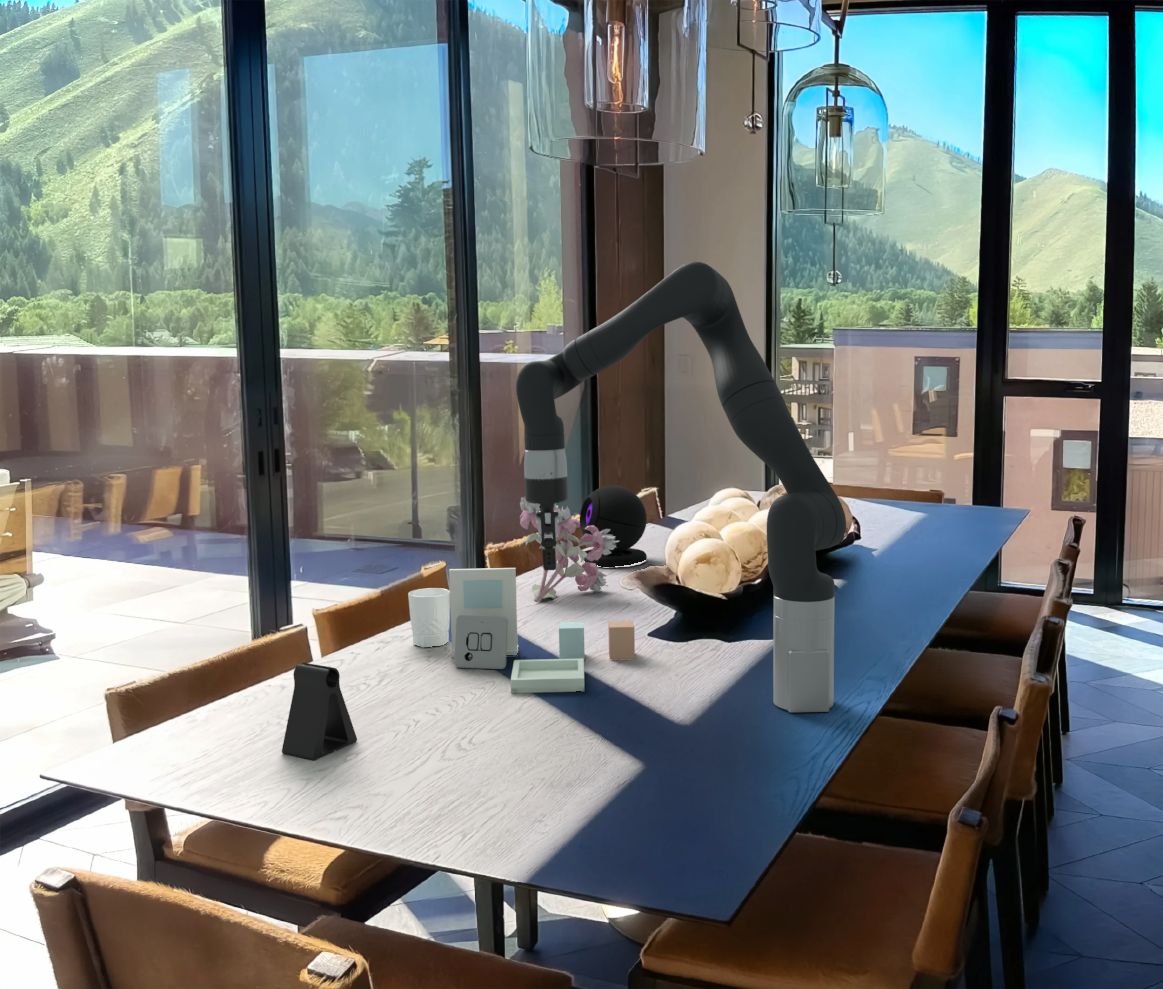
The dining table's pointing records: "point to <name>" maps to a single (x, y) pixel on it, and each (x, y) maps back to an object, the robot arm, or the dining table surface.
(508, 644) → the placard
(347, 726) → the black triangular stand
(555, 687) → the tray
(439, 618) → the white cup
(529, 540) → the flower
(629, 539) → the webcam
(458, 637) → the electrical switch
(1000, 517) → the dining table surface
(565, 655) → the blue block
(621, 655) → the terracotta block
